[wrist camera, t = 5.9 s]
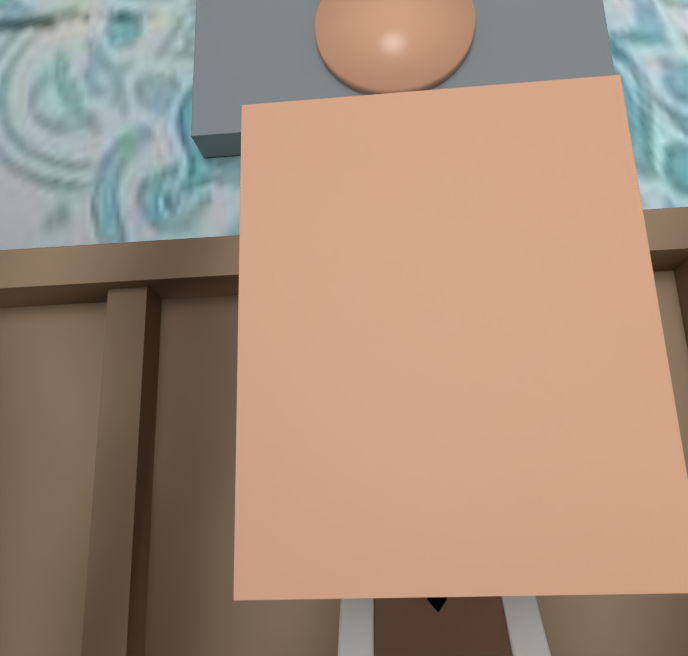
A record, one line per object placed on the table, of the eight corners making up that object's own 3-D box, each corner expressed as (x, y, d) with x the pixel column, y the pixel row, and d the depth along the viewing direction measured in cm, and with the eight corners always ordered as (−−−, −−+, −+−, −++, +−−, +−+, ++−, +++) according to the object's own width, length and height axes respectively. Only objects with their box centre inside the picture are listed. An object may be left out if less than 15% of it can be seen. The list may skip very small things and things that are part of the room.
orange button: (203, 157, 19) (186, 128, 17) (209, -4, 21) (193, -45, 19) (605, 128, 18) (624, 94, 16) (579, -39, 20) (594, -84, 18)
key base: (-238, 750, 16) (-382, 809, 13) (-154, 301, 19) (-254, 266, 16) (1245, 756, 13) (1486, 832, 10) (1059, 231, 16) (1203, 174, 13)
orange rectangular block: (336, 533, 14) (233, 600, 5) (331, 322, 15) (242, 104, 7) (514, 529, 14) (707, 593, 5) (494, 314, 15) (620, 74, 6)
